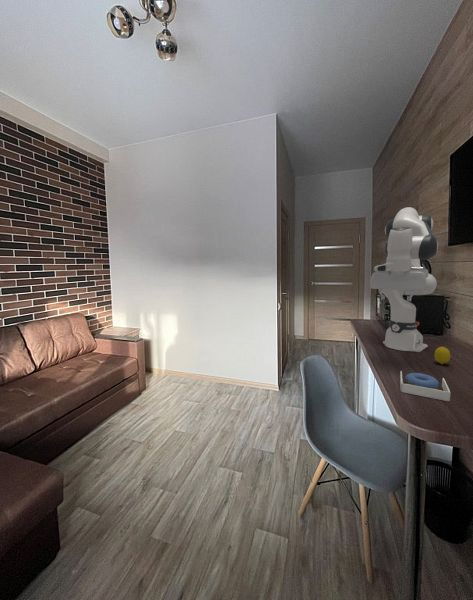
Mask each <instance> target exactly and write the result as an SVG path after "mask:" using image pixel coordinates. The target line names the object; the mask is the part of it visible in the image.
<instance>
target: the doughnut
mask: <svg viewBox="0 0 473 600" xmlns="http://www.w3.org/2000/svg"><path fill="white" fill-rule="evenodd" d="M404 381H405V384H409V385H415V386H420V387H425V388H431V389H436V390H439V387H440V382H439V381H438V379H437V378H435V377H434V376H431V375H429V374H426V373H422V372H421V373H420V372H411V373H408V374H406V376H405V377H404Z"/></svg>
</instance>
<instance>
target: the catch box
mask: <svg viewBox="0 0 473 600" xmlns="http://www.w3.org/2000/svg"><path fill="white" fill-rule="evenodd" d="M399 374H400V375H399V382H400V383H399V385H400V393H405V394H410V395H415V396H420V397H424V398H428V399H429V398H430V399H434V400H441V401H444V402H449V403H450V400H451V391H450V387H449V386H448V384H447V381H446V380H445V378H444V377H442V380H441V381H442V382H441V388H442V390H440V389H437V390H436V389H431V388H425V387H420V386H415V385H409V384H406V383H404V382H403V381H404V380H403V371H402V370H400V373H399Z"/></svg>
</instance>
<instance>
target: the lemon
mask: <svg viewBox="0 0 473 600" xmlns="http://www.w3.org/2000/svg"><path fill="white" fill-rule="evenodd" d="M433 356H434V357H433V358H434V360H435V361H436V362H437V363H439V364H440V365H443V364H447V363H448V362H449V361H450V359H451V351H450V350H449V349H448V348H447V347H445V346H439V347H437V348H436V349H435V350H434V355H433Z"/></svg>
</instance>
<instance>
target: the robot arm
mask: <svg viewBox="0 0 473 600" xmlns="http://www.w3.org/2000/svg"><path fill="white" fill-rule="evenodd" d="M433 228H434V220H433V218H432V216H431V215H429V214H423V215H419V213H418V211H417V210H416V208H414V207H410V206H409V207H407V206H406V207H404V208H401V209H400V210H399V211H398V212H397V213H396V215H395V217H393V218H391V219H390V220H389V221H387V222H386V224H385V227H384V234H385V235H386V237H387V241H386V242H385V246H384V247H385V248H384V254H385V255H386V259H385V261H386V262H385V263H381V264H380V265H375V266H374V267H373V271H374V272H373V273H372V274H371V277H370V281H369V288H371V289H373V290H378V293H379V295H380V300H381V301H382V300H383V301H386V298H387V299H388V302H389V305H390V306H389V307H390V319H389V321H388V328H387V329H386V332H385V337H384V340H383V341H382V344H384V346H385V347H386V348H389V349H393V350H396V351H402V352H416V353H420V352H422V351H424V350H425V349H426V348H428V347H429V346H428V344H426V343H424V342H423V341H424V336H423V335H422V333H421V332H420V331H419V330H418V326H419V325H420V322H419V321H416V316H417V307H416V305H415V304H414V303H412V297H413V296H425V295H431V294H432V293H434V291H436V288H437V285H438V284H437V283H438V282H437V279H436V277H435V276H434V275H433V274H431V273H429V269H428V268H425V267H422V266H421V261H420V260H425V261H428V260H430V259H432V258H433V257H434V256H436V255H437V252H438V250H439V242H438V239H437V237H435V236H434V234H433V231H432V230H433ZM404 295H407V296H406V299H404V297H403V296H404ZM408 295H409V296H408Z"/></svg>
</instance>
